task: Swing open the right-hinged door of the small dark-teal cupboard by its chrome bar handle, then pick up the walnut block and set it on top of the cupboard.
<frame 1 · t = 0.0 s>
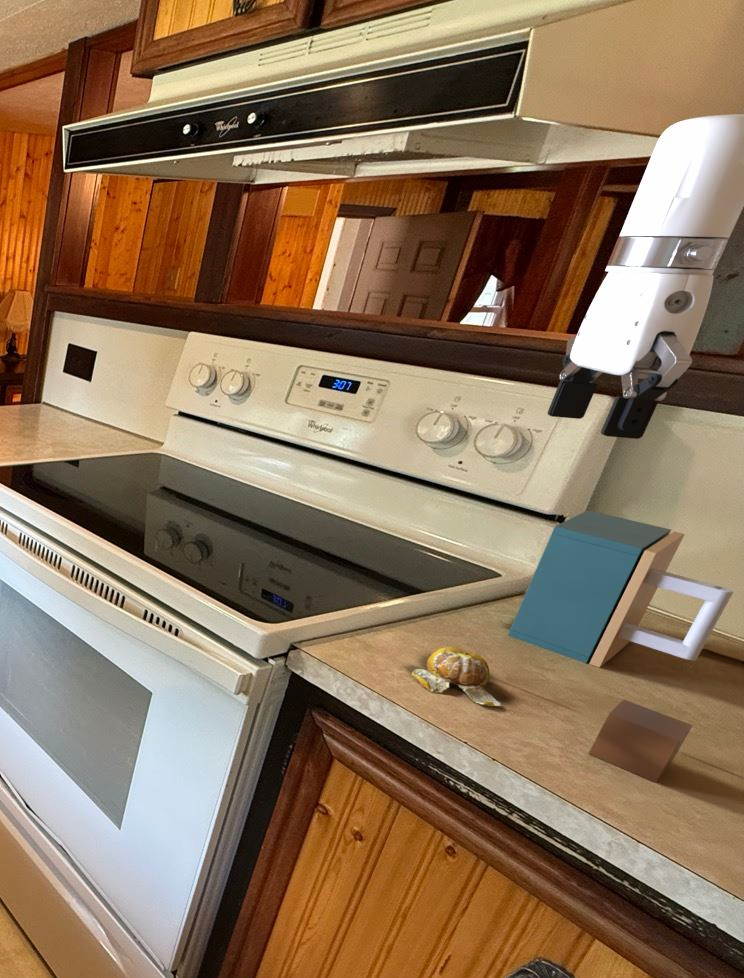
hand: (590, 426, 78), 31 cm above the worktop, tool pointing down, fingers open, 9 cm apart
fruit: (448, 685, 86), on the worktop
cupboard: (562, 637, 98), on the worktop
block: (628, 759, 74), on the worktop
fridge door: (674, 610, 89), point 8 cm above the worktop, hinge at 0.0°
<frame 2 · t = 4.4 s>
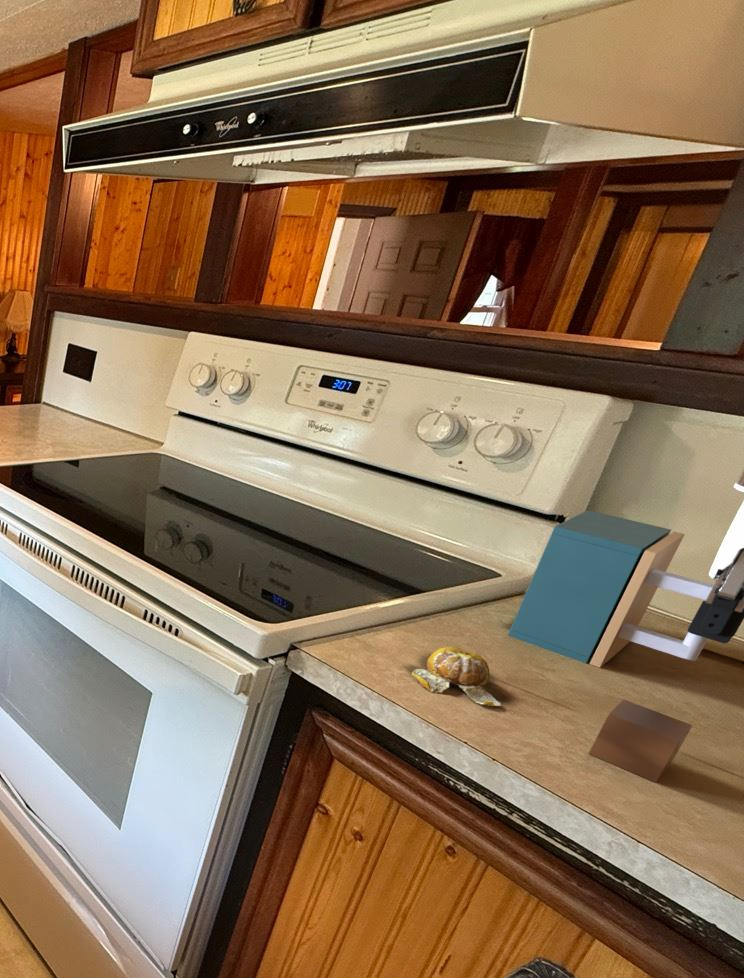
hand: (710, 633, 83), 8 cm above the worktop, tool pointing down, fingers closed on fridge door
fridge door: (674, 610, 89), point 8 cm above the worktop, hinge at 0.1°, touching gripper
everything else where it was.
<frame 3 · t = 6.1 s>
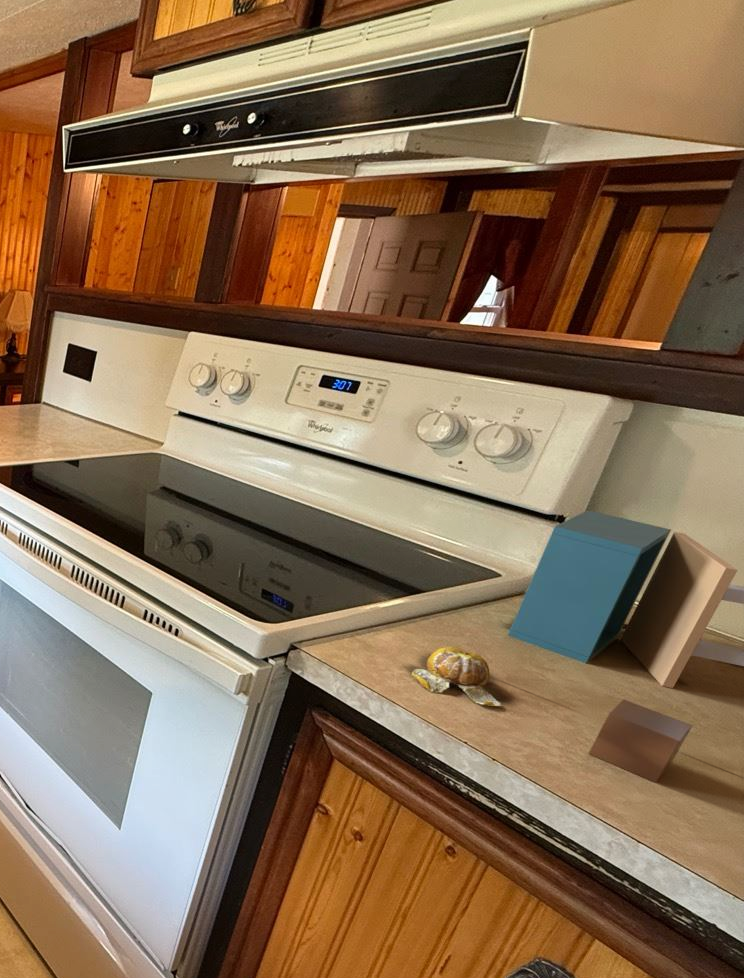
fridge door: (710, 614, 88), point 8 cm above the worktop, hinge at 28.4°, touching gripper
everything else where it was.
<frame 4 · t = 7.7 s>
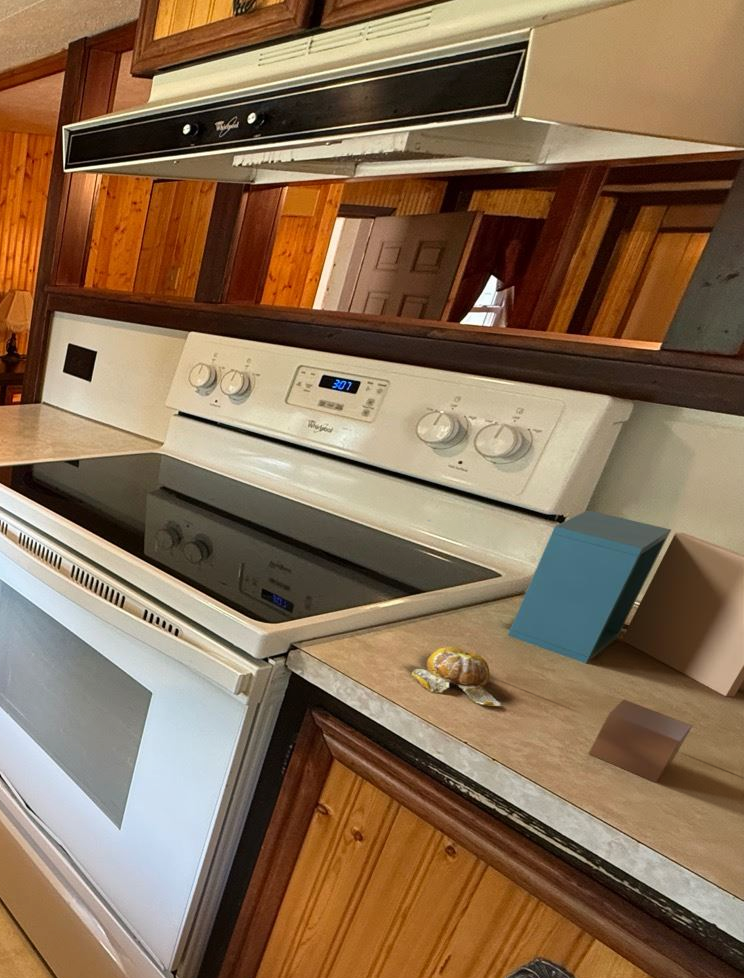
fridge door: (731, 613, 88), point 8 cm above the worktop, hinge at 54.9°, touching gripper
everything else where it was.
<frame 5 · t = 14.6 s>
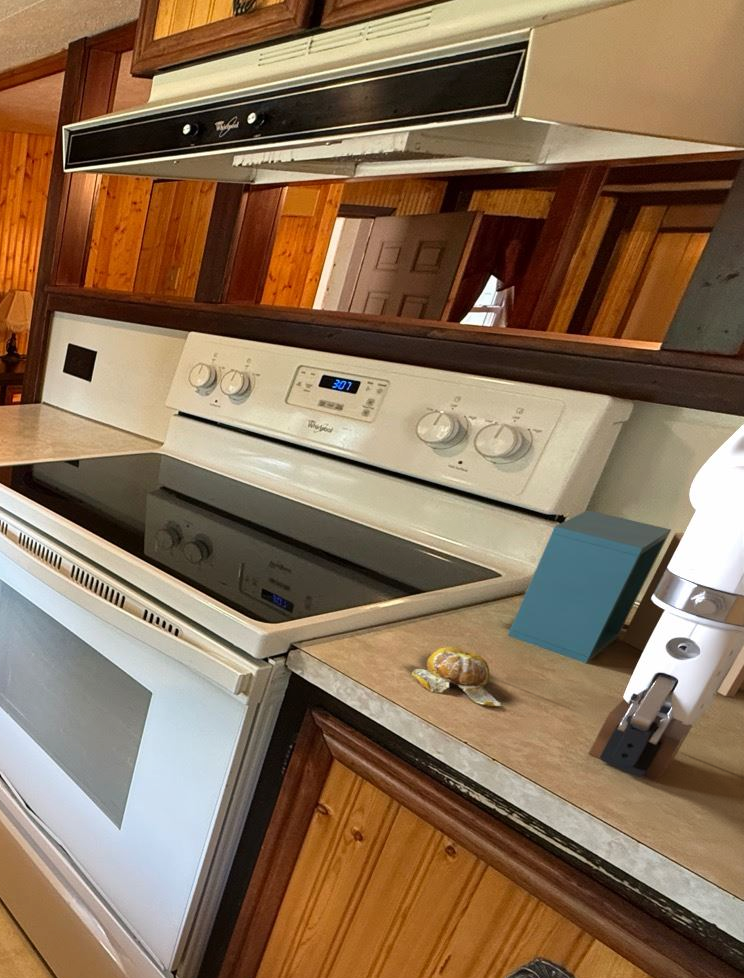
hand: (630, 756, 74), 0 cm above the worktop, tool pointing down, fingers closed on block, 5 cm apart
block: (628, 759, 74), on the worktop, touching gripper
fridge door: (731, 613, 88), point 8 cm above the worktop, hinge at 54.8°
everything else where it was.
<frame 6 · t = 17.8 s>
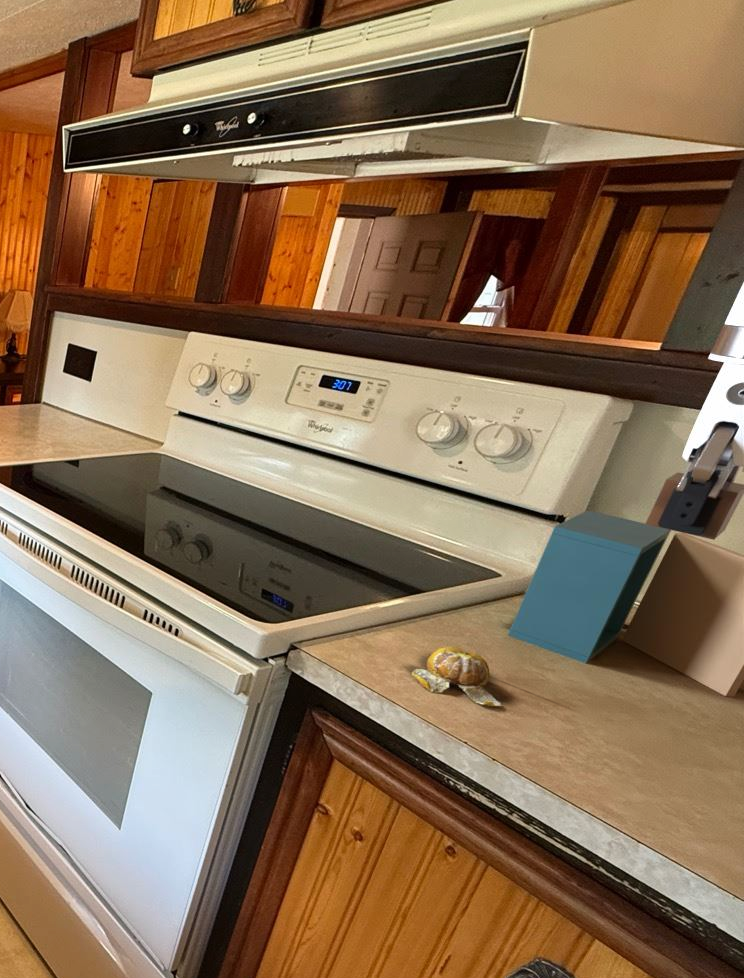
hand: (686, 523, 76), 22 cm above the worktop, tool pointing down, fingers closed on block, 5 cm apart
block: (684, 527, 76), point 22 cm above the worktop, touching gripper
everything else where it was.
when the fingers open (16 cm above the worktop, at t = 20.9 s): block stays where it is, resting on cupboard.
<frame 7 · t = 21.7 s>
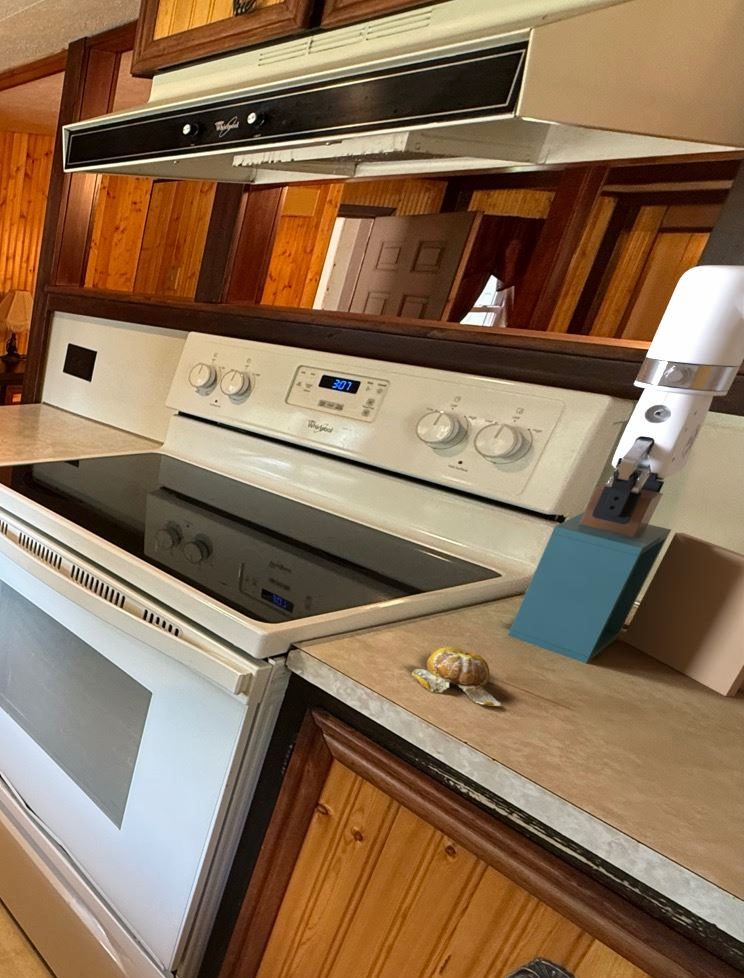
hand: (621, 513, 91), 18 cm above the worktop, tool pointing down, fingers open, 9 cm apart
block: (611, 527, 92), point 16 cm above the worktop, touching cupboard
everything else where it was.
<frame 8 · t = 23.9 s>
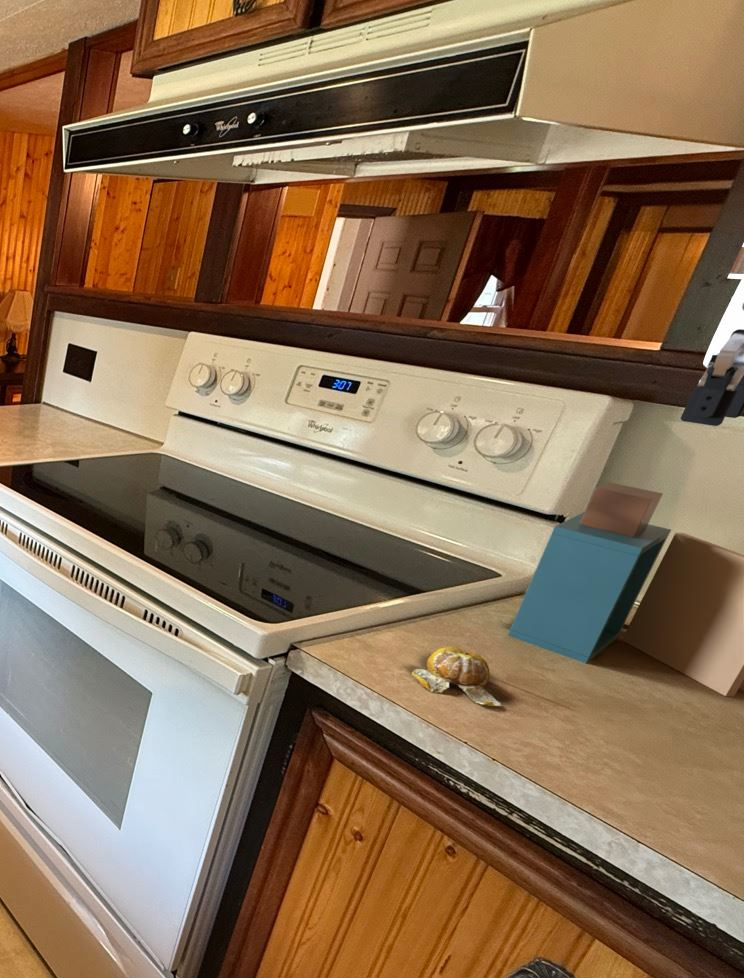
hand: (709, 419, 86), 30 cm above the worktop, tool pointing down, fingers open, 9 cm apart
nothing on the worktop moved.
at the end: fridge door at +55° (first picture: +0°); block inside the target area on the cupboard (0.1 cm from its centre), point 16.0 cm above the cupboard's base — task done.
